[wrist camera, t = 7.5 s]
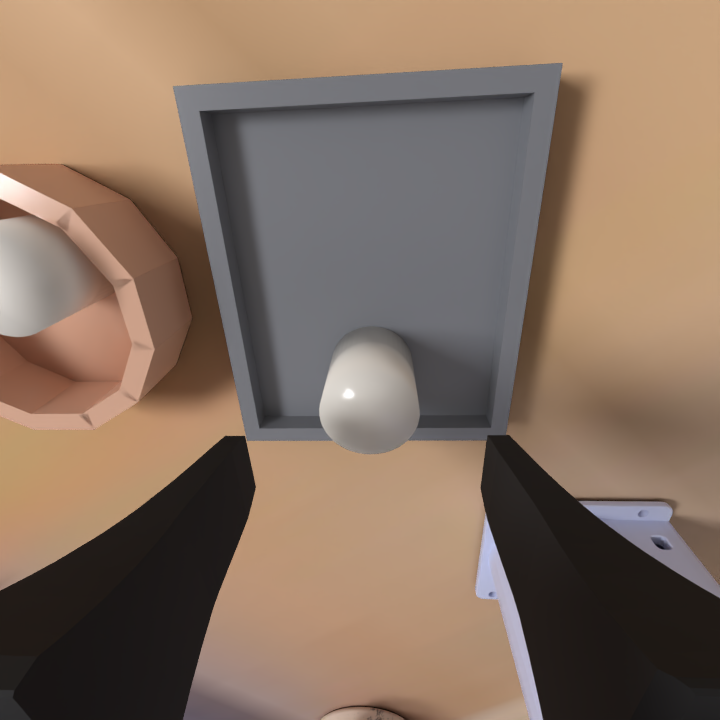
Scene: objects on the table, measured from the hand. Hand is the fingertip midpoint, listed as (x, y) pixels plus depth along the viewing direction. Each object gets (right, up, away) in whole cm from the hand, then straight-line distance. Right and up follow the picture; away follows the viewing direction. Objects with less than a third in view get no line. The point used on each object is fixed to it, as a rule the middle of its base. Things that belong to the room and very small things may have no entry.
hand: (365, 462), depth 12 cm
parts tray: (0, +6, +5) cm, 8 cm away
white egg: (-12, +7, +4) cm, 14 cm away
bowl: (-13, +6, +6) cm, 15 cm away
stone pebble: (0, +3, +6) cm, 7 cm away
